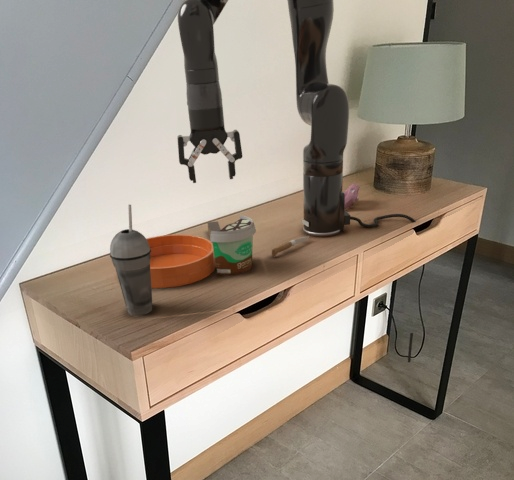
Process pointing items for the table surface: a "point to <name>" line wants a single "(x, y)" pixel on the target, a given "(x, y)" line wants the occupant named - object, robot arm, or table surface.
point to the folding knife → (288, 245)
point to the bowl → (180, 260)
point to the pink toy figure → (351, 195)
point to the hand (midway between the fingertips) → (213, 180)
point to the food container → (234, 247)
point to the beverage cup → (133, 268)
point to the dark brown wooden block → (213, 227)
